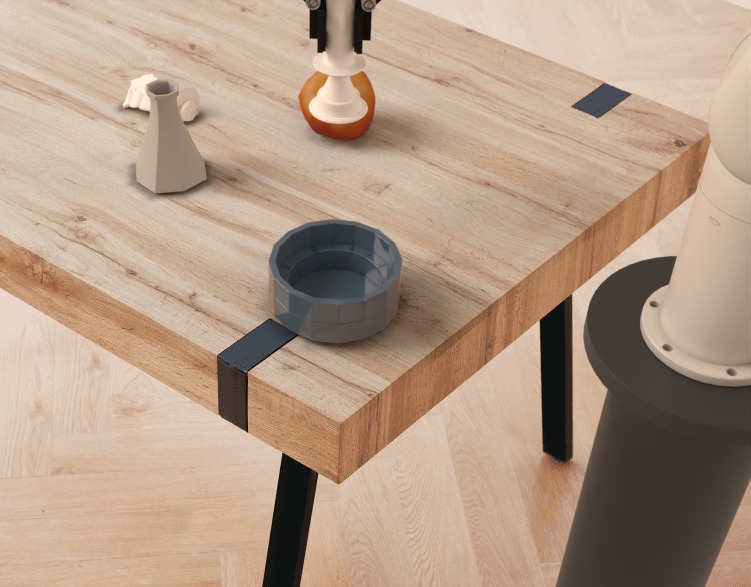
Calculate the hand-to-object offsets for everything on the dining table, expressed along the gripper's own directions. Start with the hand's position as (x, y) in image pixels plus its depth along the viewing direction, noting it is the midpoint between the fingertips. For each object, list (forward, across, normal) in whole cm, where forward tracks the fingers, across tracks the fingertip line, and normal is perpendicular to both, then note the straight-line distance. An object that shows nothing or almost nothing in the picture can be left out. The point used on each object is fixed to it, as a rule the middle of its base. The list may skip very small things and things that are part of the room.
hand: (340, 44), depth 93 cm
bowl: (+18, 0, -14) cm, 23 cm away
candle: (+7, 0, 0) cm, 7 cm away
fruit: (+18, 0, +14) cm, 23 cm away
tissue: (+18, -19, +17) cm, 31 cm away
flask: (+18, -17, +5) cm, 25 cm away
